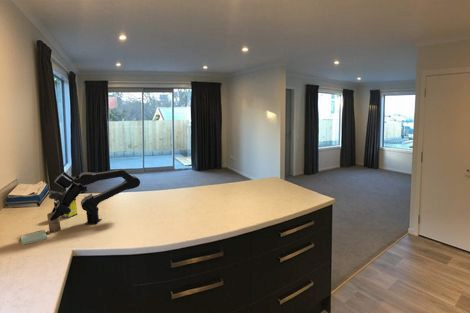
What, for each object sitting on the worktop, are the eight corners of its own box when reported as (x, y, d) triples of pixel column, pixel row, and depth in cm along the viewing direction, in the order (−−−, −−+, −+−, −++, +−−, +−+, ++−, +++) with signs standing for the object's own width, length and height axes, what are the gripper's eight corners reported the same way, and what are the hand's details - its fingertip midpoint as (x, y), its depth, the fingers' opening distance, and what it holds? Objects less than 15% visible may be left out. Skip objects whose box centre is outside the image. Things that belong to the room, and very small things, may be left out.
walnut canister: (53, 228, 160) (50, 212, 159) (62, 228, 160) (60, 211, 159) (47, 232, 155) (44, 215, 154) (57, 232, 155) (54, 215, 154)
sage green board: (21, 237, 150) (20, 235, 150) (45, 232, 156) (44, 230, 156) (22, 244, 142) (21, 242, 142) (47, 238, 148) (46, 236, 148)
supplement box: (61, 217, 177) (58, 198, 175) (70, 213, 182) (67, 195, 181) (69, 218, 175) (66, 199, 173) (77, 214, 180) (75, 196, 178)
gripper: (56, 181, 164) (34, 205, 159) (60, 188, 148) (36, 215, 144) (74, 192, 169) (54, 216, 165) (80, 201, 154) (57, 227, 150)
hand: (50, 218), depth 156 cm, fingers closed on walnut canister, 5 cm apart
